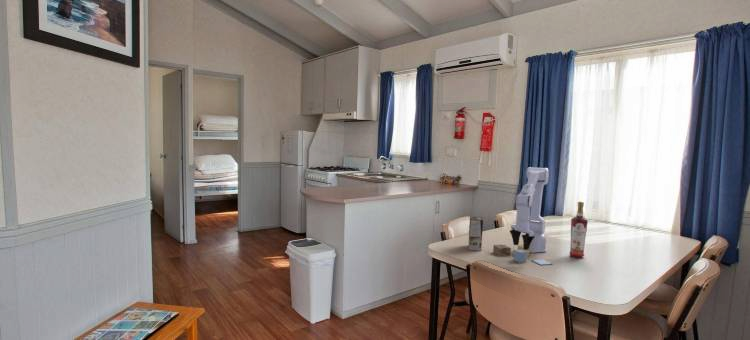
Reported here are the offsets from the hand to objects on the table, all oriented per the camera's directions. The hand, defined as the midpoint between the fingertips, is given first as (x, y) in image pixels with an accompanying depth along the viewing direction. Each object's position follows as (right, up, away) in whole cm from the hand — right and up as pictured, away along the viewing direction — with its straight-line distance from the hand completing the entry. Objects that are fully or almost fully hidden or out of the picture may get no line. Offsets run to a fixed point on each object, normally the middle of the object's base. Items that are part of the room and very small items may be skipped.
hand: (520, 247), depth 178 cm
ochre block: (+5, -6, +9) cm, 12 cm away
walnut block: (-5, -6, +12) cm, 14 cm away
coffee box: (-17, -5, +20) cm, 26 cm away
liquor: (+32, -7, +11) cm, 35 cm away
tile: (+10, -7, -1) cm, 12 cm away
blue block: (0, -7, +1) cm, 7 cm away
